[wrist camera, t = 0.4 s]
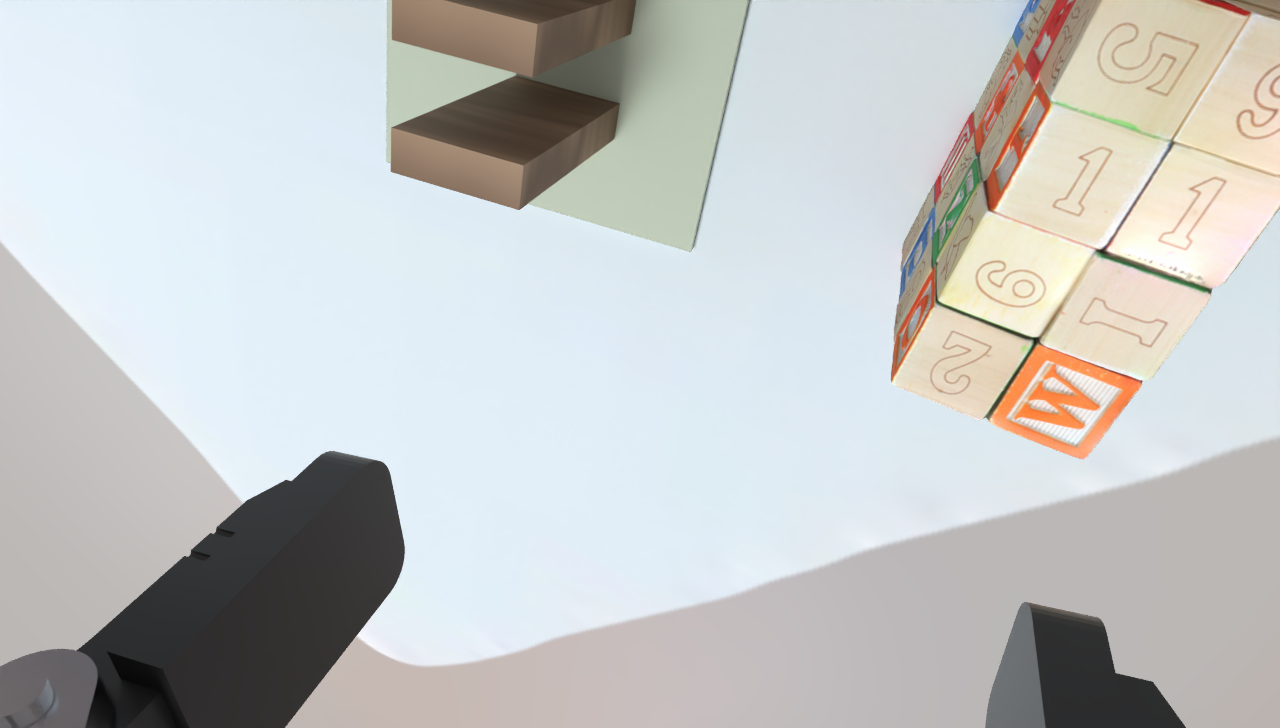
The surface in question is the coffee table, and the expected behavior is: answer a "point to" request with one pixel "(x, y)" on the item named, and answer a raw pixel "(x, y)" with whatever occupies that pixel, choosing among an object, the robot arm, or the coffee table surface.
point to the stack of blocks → (1090, 210)
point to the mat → (647, 120)
